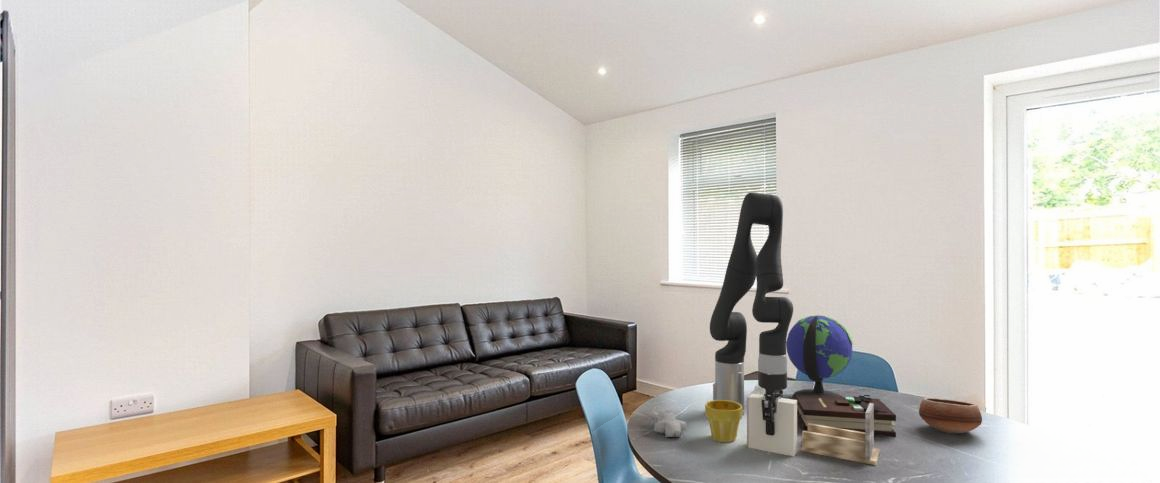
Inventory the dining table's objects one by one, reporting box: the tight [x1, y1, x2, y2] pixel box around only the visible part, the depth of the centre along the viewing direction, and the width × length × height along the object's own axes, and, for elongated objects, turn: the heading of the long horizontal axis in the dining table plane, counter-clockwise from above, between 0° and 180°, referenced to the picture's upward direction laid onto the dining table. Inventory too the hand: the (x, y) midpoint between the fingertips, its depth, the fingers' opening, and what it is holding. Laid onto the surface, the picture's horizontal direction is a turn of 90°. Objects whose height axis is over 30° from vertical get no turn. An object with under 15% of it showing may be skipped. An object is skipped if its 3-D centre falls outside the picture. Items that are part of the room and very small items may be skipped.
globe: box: [786, 314, 854, 400], centre depth 202 cm, size 22×22×30 cm
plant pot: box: [704, 399, 743, 443], centre depth 163 cm, size 10×10×10 cm
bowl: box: [918, 397, 983, 434], centre depth 167 cm, size 16×16×10 cm
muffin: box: [750, 384, 766, 395], centre depth 195 cm, size 6×6×7 cm
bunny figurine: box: [648, 409, 687, 438], centre depth 169 cm, size 10×5×15 cm
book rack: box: [801, 403, 881, 466], centre depth 152 cm, size 18×10×13 cm, turn 57°
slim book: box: [746, 393, 798, 457], centre depth 154 cm, size 12×4×14 cm, turn 57°
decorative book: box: [794, 394, 897, 438], centre depth 175 cm, size 19×8×30 cm
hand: (772, 431), depth 154 cm, fingers open, 4 cm apart
